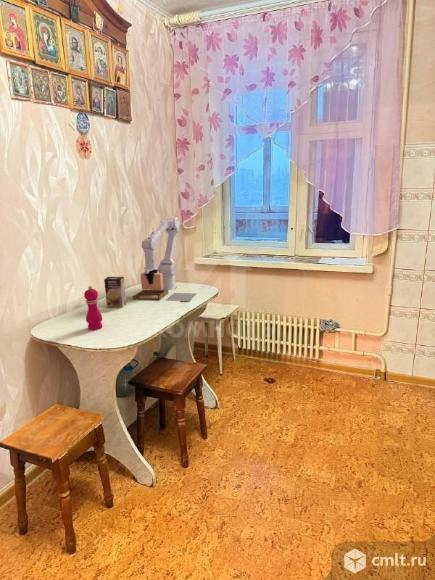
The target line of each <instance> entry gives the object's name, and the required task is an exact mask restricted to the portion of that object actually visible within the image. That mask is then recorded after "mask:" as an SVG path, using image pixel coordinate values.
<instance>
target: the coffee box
mask: <svg viewBox="0 0 435 580" xmlns="http://www.w3.org/2000/svg"><path fill="white" fill-rule="evenodd" d="M104 291H105V300H106V308H107V309H111V308H113V309H114V308H122V309H123V308H124V307H125V306H126V305H127V299H126V297H127V295H126V285H125V277H124V276H107V277H106V278H104Z"/></svg>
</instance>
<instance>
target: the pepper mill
mask: <svg viewBox="0 0 435 580" xmlns="http://www.w3.org/2000/svg"><path fill="white" fill-rule="evenodd" d="M84 291H85V292H84V293H83V297H84V299H85V301H86V302H85V303H86V304H87V313H86V315H85V322H86V323H87V328H88V330H90V331H98V330H100V329H102V328H103V323H102V321H103V316H102V313H101V312H100V310H99V308H98V297H99V291H98V290H96V289H94V288H93V286H92V285H89V286H88V289H86V290H84Z"/></svg>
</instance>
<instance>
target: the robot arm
mask: <svg viewBox="0 0 435 580" xmlns="http://www.w3.org/2000/svg"><path fill="white" fill-rule="evenodd" d="M180 224H181V222H180V219H179V218H178V217H163V218H162V219H161V220H160V224H159V226H158V227H157V229H156V230H152V231H151V233H150V234H149V236H147V238H145V239H143V240H142V241H141V248H142V251H143V254H144V260H145V267H144V268H143V269H144V272H143V273H144V274H145V276H146V277H147V280H148V283H149V284H153V276H154V273H162V276H163V289H162V290H168V291H173V290H175V289H176V288H177V287H178V286H177V285H176V276H175V274H176V272H177V268H176V267H177V263H176V262H175V261H174V255H175V250H176V244H177V238H178V233H179V232H180ZM164 232H165V233H167V234H168V237H167V242H166V247H165V251H164V258H163V259H162V260H160V261H159V265H157V264H156V252H155V249H156V248H157V245H158V242H159V241H160V240H161V238H162V234H163V233H164Z"/></svg>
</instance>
